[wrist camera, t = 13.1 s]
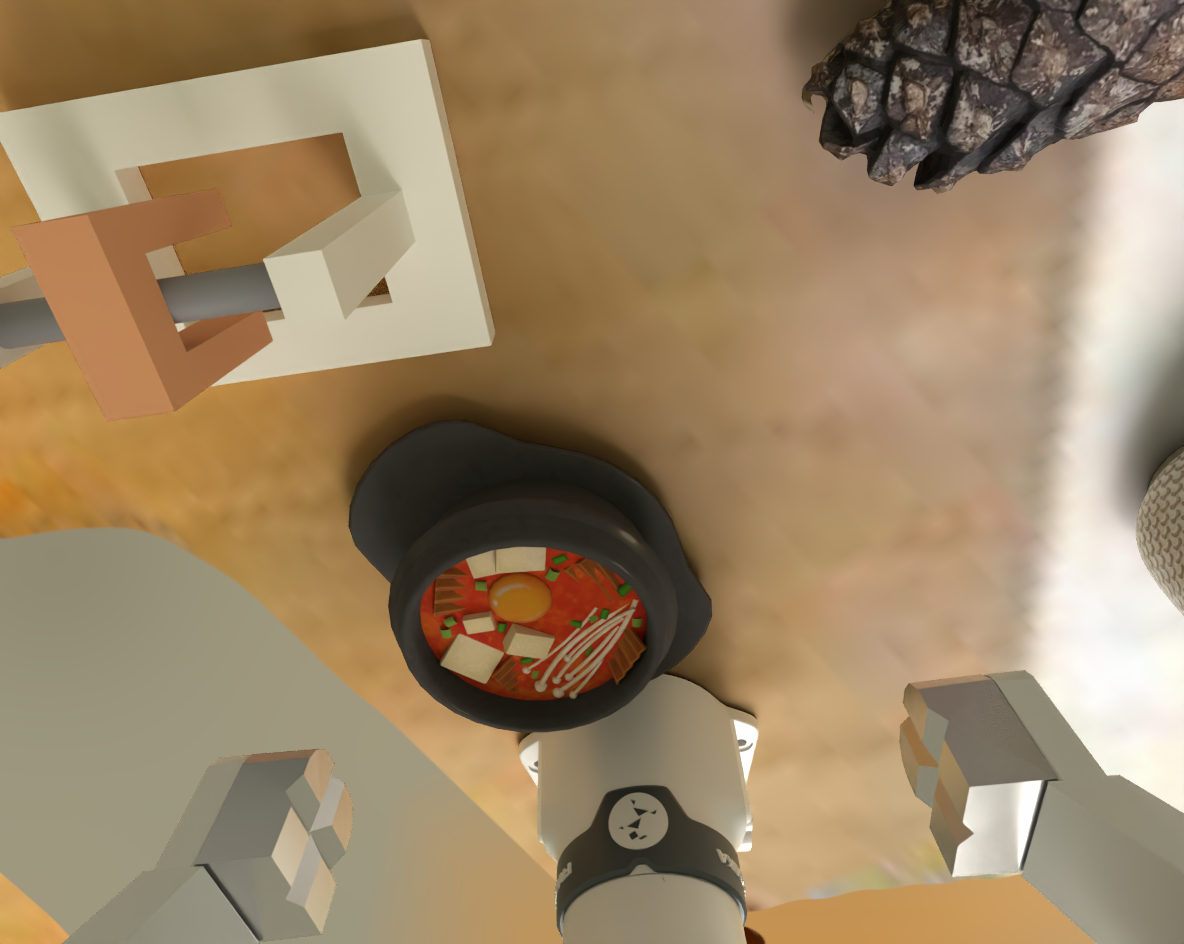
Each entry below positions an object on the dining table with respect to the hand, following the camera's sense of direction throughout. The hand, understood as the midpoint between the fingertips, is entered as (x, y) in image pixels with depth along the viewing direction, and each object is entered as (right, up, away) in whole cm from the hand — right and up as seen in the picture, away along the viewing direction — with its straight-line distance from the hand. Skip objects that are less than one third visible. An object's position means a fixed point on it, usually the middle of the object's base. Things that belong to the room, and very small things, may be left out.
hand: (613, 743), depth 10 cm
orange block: (-16, +12, +21) cm, 29 cm away
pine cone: (+18, +24, +23) cm, 37 cm away
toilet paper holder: (-17, +16, +26) cm, 35 cm away
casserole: (-4, -2, +37) cm, 38 cm away
